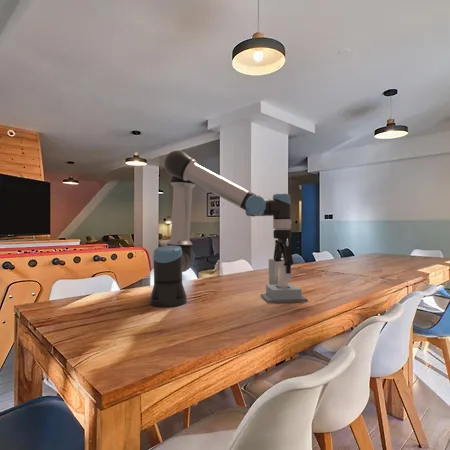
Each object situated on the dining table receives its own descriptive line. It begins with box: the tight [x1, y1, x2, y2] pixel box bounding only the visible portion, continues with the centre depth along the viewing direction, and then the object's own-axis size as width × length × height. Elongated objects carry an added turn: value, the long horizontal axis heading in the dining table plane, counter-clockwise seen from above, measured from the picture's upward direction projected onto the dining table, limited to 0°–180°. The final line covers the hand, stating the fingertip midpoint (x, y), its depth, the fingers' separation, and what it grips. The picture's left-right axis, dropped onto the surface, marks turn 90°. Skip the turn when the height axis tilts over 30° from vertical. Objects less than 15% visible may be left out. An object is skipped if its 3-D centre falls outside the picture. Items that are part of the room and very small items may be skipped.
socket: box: [260, 283, 308, 304], centre depth 131 cm, size 17×12×5 cm
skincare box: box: [268, 257, 285, 285], centre depth 149 cm, size 8×7×16 cm
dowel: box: [278, 268, 289, 289], centre depth 131 cm, size 4×4×12 cm
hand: (282, 278), depth 131 cm, fingers open, 13 cm apart
